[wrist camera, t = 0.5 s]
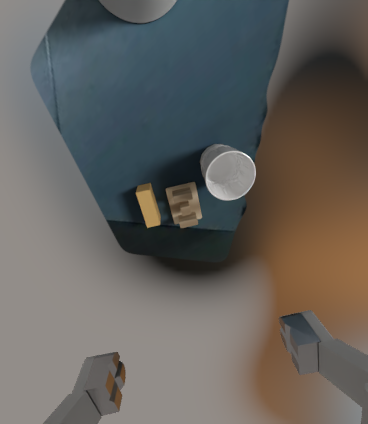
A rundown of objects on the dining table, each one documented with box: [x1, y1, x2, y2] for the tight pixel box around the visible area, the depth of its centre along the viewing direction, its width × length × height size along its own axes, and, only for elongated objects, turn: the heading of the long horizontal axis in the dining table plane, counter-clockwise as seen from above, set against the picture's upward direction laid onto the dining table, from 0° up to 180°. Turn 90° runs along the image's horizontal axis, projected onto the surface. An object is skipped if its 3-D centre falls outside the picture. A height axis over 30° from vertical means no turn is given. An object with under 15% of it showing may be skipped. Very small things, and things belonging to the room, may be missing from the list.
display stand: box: [166, 182, 202, 228], centre depth 45 cm, size 8×6×4 cm
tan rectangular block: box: [136, 183, 160, 228], centre depth 44 cm, size 8×3×4 cm, turn 12°
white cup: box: [200, 144, 256, 200], centre depth 39 cm, size 8×8×10 cm
